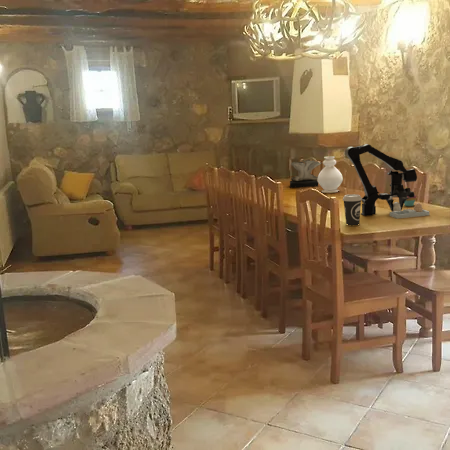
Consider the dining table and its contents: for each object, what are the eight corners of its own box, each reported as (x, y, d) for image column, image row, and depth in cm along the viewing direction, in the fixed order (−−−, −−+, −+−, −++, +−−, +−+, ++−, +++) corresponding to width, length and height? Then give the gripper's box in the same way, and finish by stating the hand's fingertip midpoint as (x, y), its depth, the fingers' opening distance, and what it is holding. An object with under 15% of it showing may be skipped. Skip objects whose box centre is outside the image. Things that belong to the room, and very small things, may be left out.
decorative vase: (312, 191, 390) (311, 157, 385) (333, 188, 397) (332, 155, 392) (327, 194, 374) (326, 158, 369) (348, 191, 381) (347, 156, 376)
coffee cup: (359, 222, 277) (359, 193, 274) (364, 225, 267) (364, 196, 264) (341, 223, 276) (340, 194, 273) (345, 227, 267) (345, 197, 264)
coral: (321, 184, 427) (320, 157, 423) (322, 187, 408) (322, 159, 403) (289, 185, 431) (288, 158, 426) (289, 189, 411) (288, 161, 407)
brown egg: (416, 215, 280) (416, 204, 279) (411, 214, 285) (411, 202, 284) (424, 214, 281) (424, 203, 280) (419, 213, 286) (419, 202, 284)
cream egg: (394, 214, 291) (394, 202, 290) (390, 212, 296) (390, 201, 294) (402, 213, 292) (402, 202, 291) (398, 212, 296) (398, 201, 295)
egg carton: (397, 219, 277) (397, 213, 276) (389, 216, 285) (389, 210, 284) (429, 216, 280) (429, 209, 279) (421, 213, 288) (421, 207, 287)
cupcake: (406, 207, 308) (407, 186, 305) (398, 205, 316) (398, 185, 314) (419, 205, 310) (420, 185, 308) (411, 203, 318) (411, 183, 316)
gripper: (387, 185, 281) (387, 214, 284) (420, 182, 284) (419, 211, 287) (377, 183, 292) (378, 211, 295) (409, 180, 295) (409, 208, 298)
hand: (396, 210), depth 293 cm, fingers closed on cream egg, 5 cm apart
